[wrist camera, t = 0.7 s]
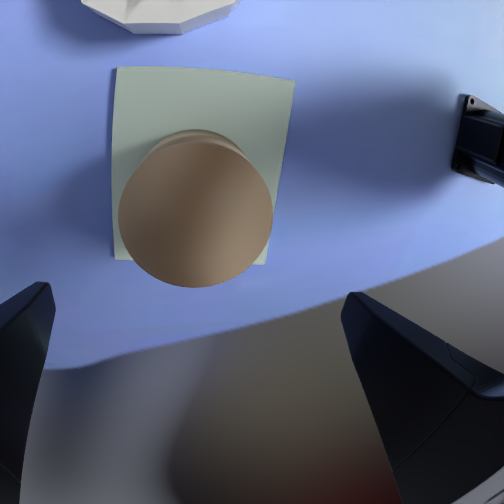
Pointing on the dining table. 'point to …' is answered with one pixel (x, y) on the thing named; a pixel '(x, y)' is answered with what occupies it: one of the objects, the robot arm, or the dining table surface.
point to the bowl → (162, 14)
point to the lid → (195, 210)
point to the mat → (197, 120)
